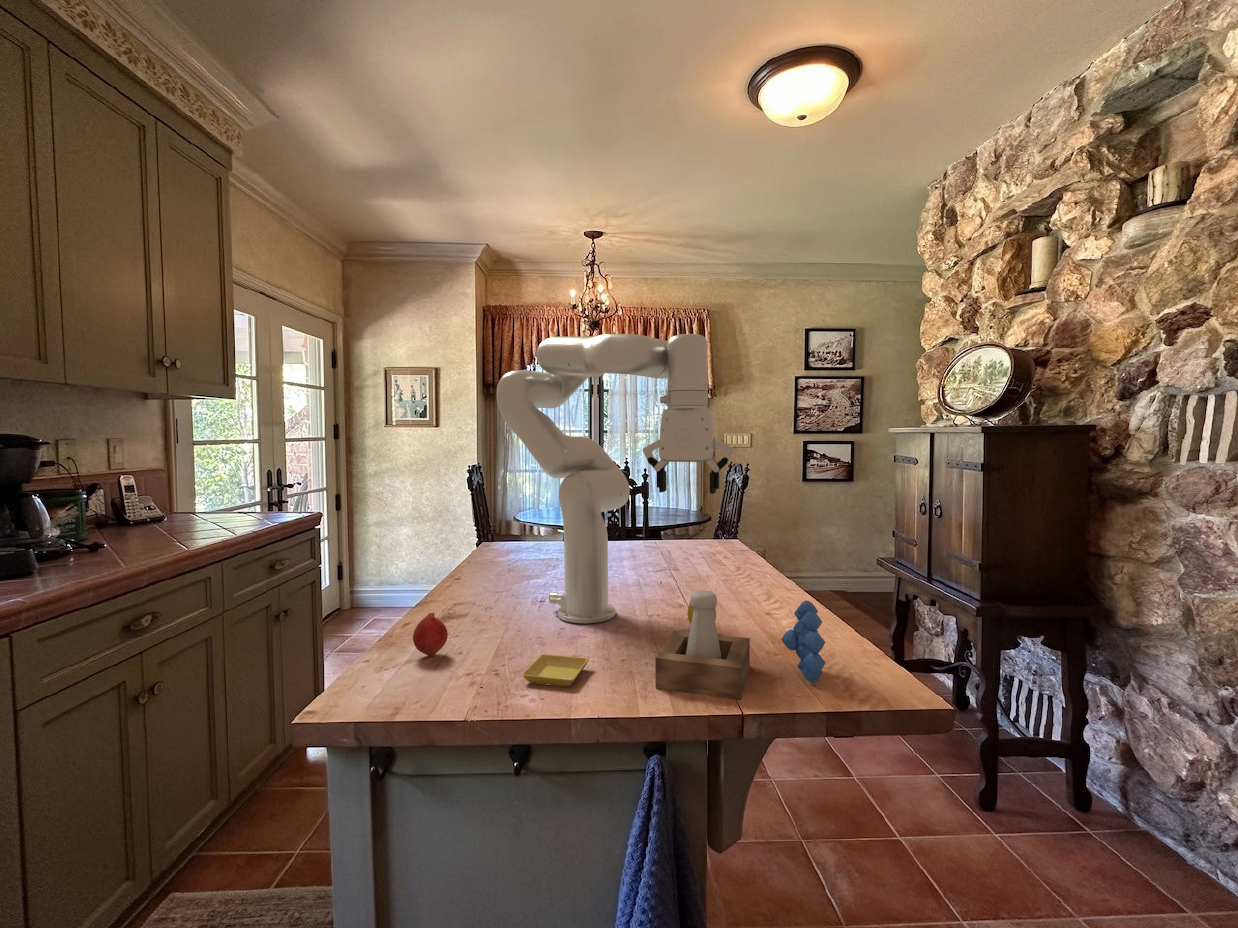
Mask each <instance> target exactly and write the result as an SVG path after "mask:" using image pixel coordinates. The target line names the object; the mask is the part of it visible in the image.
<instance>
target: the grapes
mask: <svg viewBox="0 0 1238 928" xmlns="http://www.w3.org/2000/svg"><path fill="white" fill-rule="evenodd" d="M818 613H819V610H818V608H817V607H816V605H814V604H813V602H811V601H809V600H804V601H802V602H801V603H800V605H799V606H798V607H797V608H796V609H795V611H794V613H793V614H794V616H795V618H796V619H797V620H798V621H797V622H796V623H795V624H794V626H793V628H790V629H788V630H786V631H785V633H784V634H783V636H782V637H781V638H780V640H781V642H782V643H783V644H784V645H785V647H786V648H787V649H788V650H790V651H794V652H795V654H796V655H797V657H798V658H799V662H798V664H797V665H796V666H797V668H798V669H799V671H800V672H801V674H802V675H803V677H804V678H805V679H806V680H807V682H809V683H811V684H815V683H817V682H818V681H819V679H820V678H821V677H822V675H823V674H824V672H823V668H824V667H825V666H826V661H825V660H824V658H823V657H822V656H821V655H820V654H819V653H820V651H822V649H823V648H824V646H825V645H826V641H825V640H824V638H823V637H822V635H821V633H819V631H818V629H820V627H821V625H822V623H823V621H822V619H821V618H820V617H819V615H818Z"/></svg>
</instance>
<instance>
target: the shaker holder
mask: <svg viewBox="0 0 1238 928" xmlns="http://www.w3.org/2000/svg"><path fill="white" fill-rule="evenodd" d="M689 634H690V631H684V630H673V631H672V633H671V634H670V635H669V637H668V638H667V640H666V642H665V643H664V645H663V646H662V648H661V649H660V651H659V652H658V653H657V655H656V656H655V662H654V663H655V666H654V667H655V689H658V690H664V691H665V690H666V691H671V692H680V693H687V694H694V695H701V696H708V697H714V698H715V697H716V698H723V699H729V700H736V701H737V700H739V701H742V698H743V694H744V693H743V692H744V690H745V686H746V682H747V677H748V673H749V669H750V665H751V664H750V654H751V651H750V648H751V647H750V645H751V644H750V641H751V640H750V639H751V638H749V637H742V636H741V637H740V636H731V635H721V634H717V635H718V641H719V646H720V651H721V659H715V658H707V657H698V656H690V655H686V651H687V645H688V639H689Z"/></svg>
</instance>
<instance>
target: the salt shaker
mask: <svg viewBox="0 0 1238 928" xmlns="http://www.w3.org/2000/svg"><path fill="white" fill-rule="evenodd" d="M689 600H690V601H689V603H690V604H691V606H692V607H693V608H694V611H693V616H692V622H691V624H690V628H689V632H690V634H689V639H688V645H687V651H686V655H690V656H698V657H707V658H715V659H721V651H720V646H719V641H718V635H719V634H718V631H717V624H716V620H715V618H714V612H713V608H715V609H716V608H717V606H718V605H717V604H718V597H717V595H716V594H715V592H713V591H710V590H705V589H704V590H696V591H693V592H692V593H691V594H690V599H689Z"/></svg>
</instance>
